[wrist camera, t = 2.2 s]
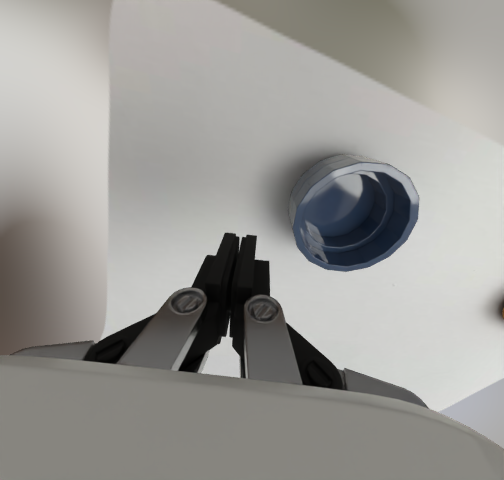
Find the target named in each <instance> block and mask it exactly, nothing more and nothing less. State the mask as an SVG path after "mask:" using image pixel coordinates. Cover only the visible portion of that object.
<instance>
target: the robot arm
mask: <svg viewBox="0 0 504 480" xmlns="http://www.w3.org/2000/svg"><path fill="white" fill-rule="evenodd" d="M256 239H257V236H254V235H247V236H246V237H242V241H241V245H240V250H239V237H237V236H236V234H233V233H225V234H224V237H223V239H222V242H221V244H220V247H219V249H218V252H217V254H216V256H213V255H207V256H206V258H205V260H204V262H203V264H202V266H201V268H200V270H199V272H198V274H197V276H196V279H195V281H194V283H193V285H192V287H189V288H183V289H180V290H178V291H176V292H174V293H173V294H172V295H171V296H170V297H169V298H168V299H167V301H166V302H165V303H164V304H163V306H162V307H161V308H160V309H159V311H158V312H157V313H156V314H154V315H152V316H150V317H148V318H146V319H143V320H141V321H139V322H137V323H135V324H133V325H131V326H129V327H127V328H125V329H122V330H120V331H118V332H116V333H114V334H112V335H110V336H108V337H106V338H104V339H103V340H101V341H99V342H98V343H96V344H95V343H94V341H84V342H74V343H64V344H54V345H45V346H35V347H29V348H25V349H21V350H19V351H17V352H14V353H12V354H10V355H4V356H0V480H504V449H503V448H502V447H500V446H499V445H497V444H496V443H494V442H493V441H491V440H490V439H488V438H486V437H485V436H483V435H482V434H480V433H478V432H477V431H475V430H473V429H471V428H470V427H467V426H466V425H464V424H462V423H460V422H458V421H455V420H453V419H452V418H449V417H447V416H445V415H443V414H440V413H438V412H436V411H433V410H431V409H429V408H428V407H427V406H426V404H425V403H424V402H423V401H422V400H421V399H420V398H419V397H417V396H416V395H415V394H414V393H413V392H411V391H409V390H407V389H405V388H402V387H399V386H396V385H393V384H390V383H387V382H384V381H381V380H378V379H375V378H373V377H370V376H367V375H364V374H361V373H358V372H355V371H352V370H349V369H346V368H344V370H343V371H342V370H339V369H337V368H336V367H335V366H334V365H333V363H332V362H331V361H330V360H329V359H327V358H326V357H325V356H324V355H323V354H322V353H321V352H319V351H318V350H317V349H316V348H315V347H314V346H313V345H311V344H310V343H309V342H308V341H307V340H306V339H305V338H303V337H302V336H301V335H300V334H299V333H298V332H297V331H295V330H294V329H293V328H292V327H291V326H290V325H289V324H287V323H286V321H285V318H284V314H283V310H282V308H281V305H280V304H279V303H278V301H277V300H275V299H274V298H272V297H270V275H269V261H263V260H255V250H256ZM229 319H230V337H233V341H232V347H233V348H234V349H235V350H236V352H237V353H238V354H239V356H240V359H239V362H240V378H236V377H227V376H218V375H209V374H201V372H202V370H203V367H204V365H205V363H206V360H207V358H208V355H209V350H210V349H211V348H213V347H214V346H216V345H217V344H220V342H221V337H222V336H223V337H226V334H227V329H228V324H229Z"/></svg>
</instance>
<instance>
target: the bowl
mask: <svg viewBox="0 0 504 480" xmlns="http://www.w3.org/2000/svg"><path fill="white" fill-rule="evenodd" d="M418 210H419V195H418V193H417V191H416V189H415V187H414V185H413V183H412V181H411V179H410V177H409V176H407V175H406V174H404V173H402V172H401V171H399V170H398V169H396V168H394V167H393V166H391V165H390V164H387V163H383V162H380V161H377V160H373V159H370V158H367V157H363V156H355V155H344V154H342V155H337V156H334V157H331V158H328V159H325V160H321V161H320V162H318V163H317V164H315V165H314V166H313V167H311V168H310V169H309V170H308V171H306V172H305V173H304V174H303V175H302V176H301V177H300V179H299V181H298V182H297V184H296V185H295V187H294V189H293V190H292V192H291V196H290V202H289V208H288V212H289V216H290V220H291V224H292V229H293V233H294V237H295V241H296V245H297V247H298V249H299V250H300V251H301V252H302V253H303V255H304V256H305V257H306V258H307V259H308V260H309V261H310V262H312V263H314V264H316V265H318V266H320V267H322V268H324V269H327V270H335V271H344V272H346V271H352V270H358V269H363V268H368V267H370V266H372V265H374V264H376V263H378V262H380V261H382V260H384V259H386V258H388V257H389V256H391V255H392V254H393V253H394V252H395V251H396V250H397V249H398V248H399V247H400V246H401V245H402V244H404V243H405V242H406V240H407V239H408V237H409V235H410V233H411V232H412V230H413V228H414V226H415V224H416V222H417V220H418Z"/></svg>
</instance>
